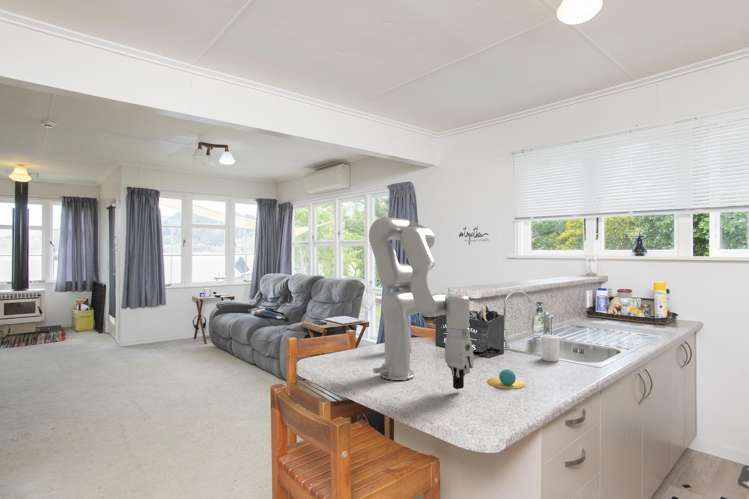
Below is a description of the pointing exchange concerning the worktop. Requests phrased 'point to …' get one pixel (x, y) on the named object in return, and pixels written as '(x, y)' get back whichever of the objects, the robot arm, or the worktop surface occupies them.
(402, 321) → the robot arm
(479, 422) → the worktop surface
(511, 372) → the ball
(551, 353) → the white cup
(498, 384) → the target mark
